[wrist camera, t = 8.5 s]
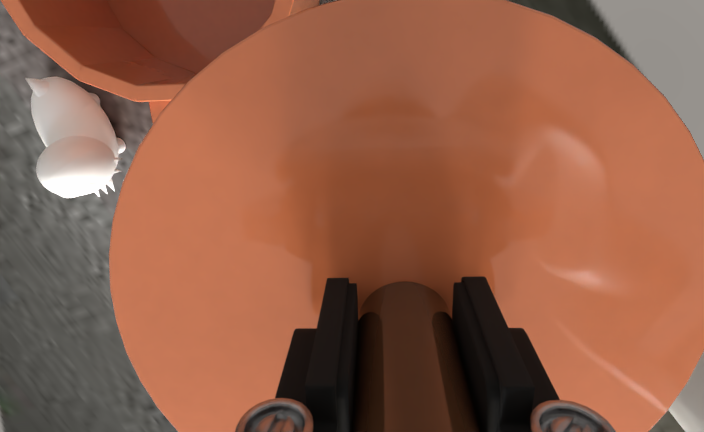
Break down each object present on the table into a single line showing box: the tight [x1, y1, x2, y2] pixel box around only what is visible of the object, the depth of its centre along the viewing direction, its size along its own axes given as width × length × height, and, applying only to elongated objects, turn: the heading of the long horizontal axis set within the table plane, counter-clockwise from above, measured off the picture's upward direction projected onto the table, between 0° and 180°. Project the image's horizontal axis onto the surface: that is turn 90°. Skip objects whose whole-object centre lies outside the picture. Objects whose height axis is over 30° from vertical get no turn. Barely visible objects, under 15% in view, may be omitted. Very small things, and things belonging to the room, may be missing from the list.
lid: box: [109, 0, 704, 432], centre depth 10 cm, size 16×16×6 cm
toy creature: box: [25, 76, 126, 198], centre depth 29 cm, size 5×8×6 cm, turn 22°
